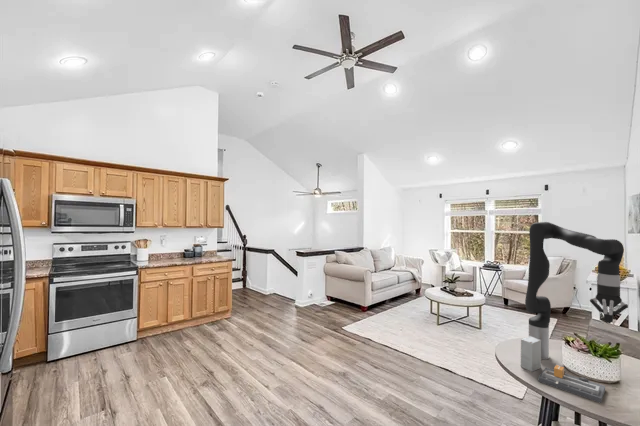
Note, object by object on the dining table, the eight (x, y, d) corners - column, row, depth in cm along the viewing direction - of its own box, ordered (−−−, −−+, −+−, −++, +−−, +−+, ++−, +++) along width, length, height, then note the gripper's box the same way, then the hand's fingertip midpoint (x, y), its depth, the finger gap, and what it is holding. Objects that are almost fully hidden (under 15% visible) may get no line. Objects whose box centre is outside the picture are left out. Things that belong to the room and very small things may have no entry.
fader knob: (556, 376, 145) (556, 364, 145) (564, 378, 143) (564, 367, 143) (554, 379, 142) (554, 367, 142) (562, 382, 140) (562, 370, 140)
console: (545, 371, 154) (545, 363, 154) (605, 390, 137) (605, 382, 137) (538, 381, 144) (538, 373, 144) (600, 403, 128) (600, 394, 128)
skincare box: (529, 363, 162) (529, 335, 162) (541, 368, 156) (542, 339, 156) (519, 366, 158) (520, 338, 158) (532, 372, 153) (532, 342, 153)
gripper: (630, 285, 134) (630, 324, 134) (590, 280, 144) (590, 316, 144) (628, 288, 129) (628, 328, 129) (587, 282, 139) (587, 320, 139)
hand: (608, 322), depth 136 cm, fingers closed
